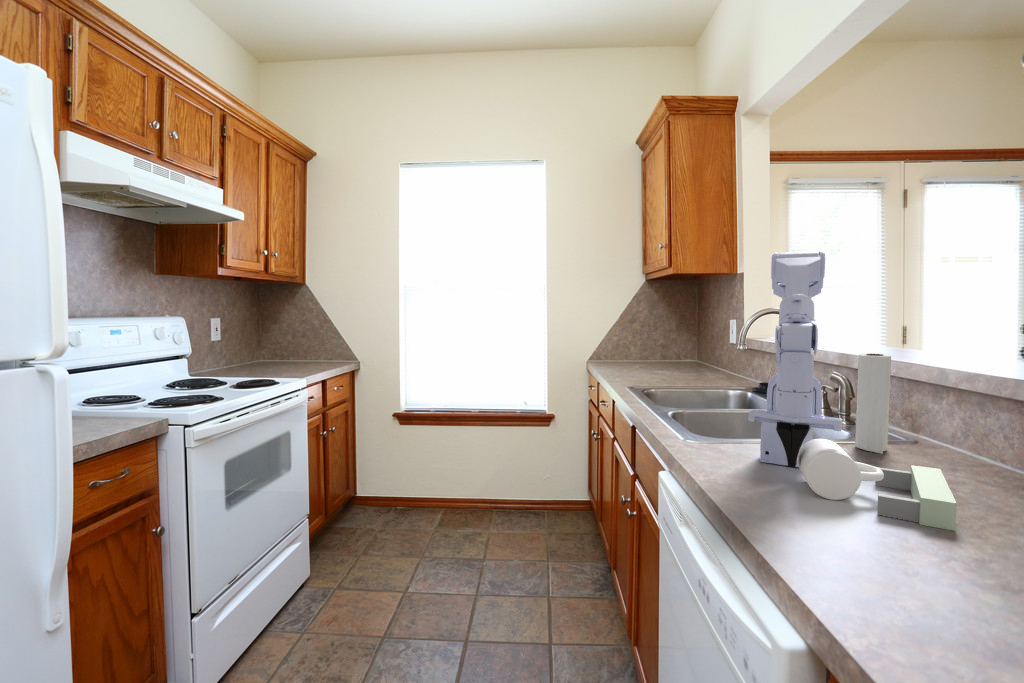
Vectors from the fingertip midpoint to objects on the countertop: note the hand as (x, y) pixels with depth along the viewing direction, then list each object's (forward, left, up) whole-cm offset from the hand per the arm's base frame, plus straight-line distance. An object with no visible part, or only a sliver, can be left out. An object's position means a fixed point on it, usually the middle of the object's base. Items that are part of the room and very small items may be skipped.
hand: (792, 465), depth 93 cm
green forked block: (+18, 0, -3) cm, 18 cm away
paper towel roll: (+12, +36, -4) cm, 38 cm away
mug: (+7, 0, -4) cm, 8 cm away
